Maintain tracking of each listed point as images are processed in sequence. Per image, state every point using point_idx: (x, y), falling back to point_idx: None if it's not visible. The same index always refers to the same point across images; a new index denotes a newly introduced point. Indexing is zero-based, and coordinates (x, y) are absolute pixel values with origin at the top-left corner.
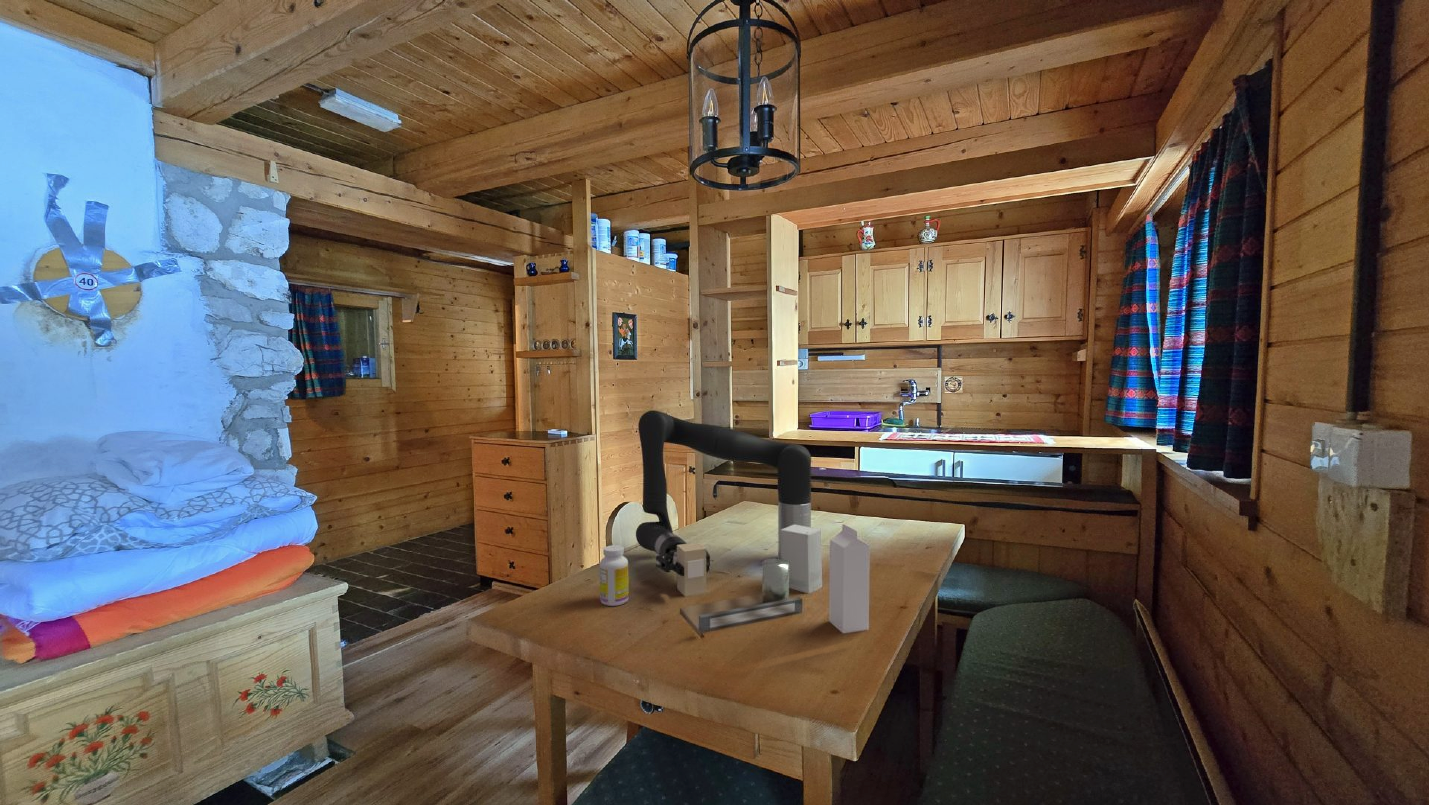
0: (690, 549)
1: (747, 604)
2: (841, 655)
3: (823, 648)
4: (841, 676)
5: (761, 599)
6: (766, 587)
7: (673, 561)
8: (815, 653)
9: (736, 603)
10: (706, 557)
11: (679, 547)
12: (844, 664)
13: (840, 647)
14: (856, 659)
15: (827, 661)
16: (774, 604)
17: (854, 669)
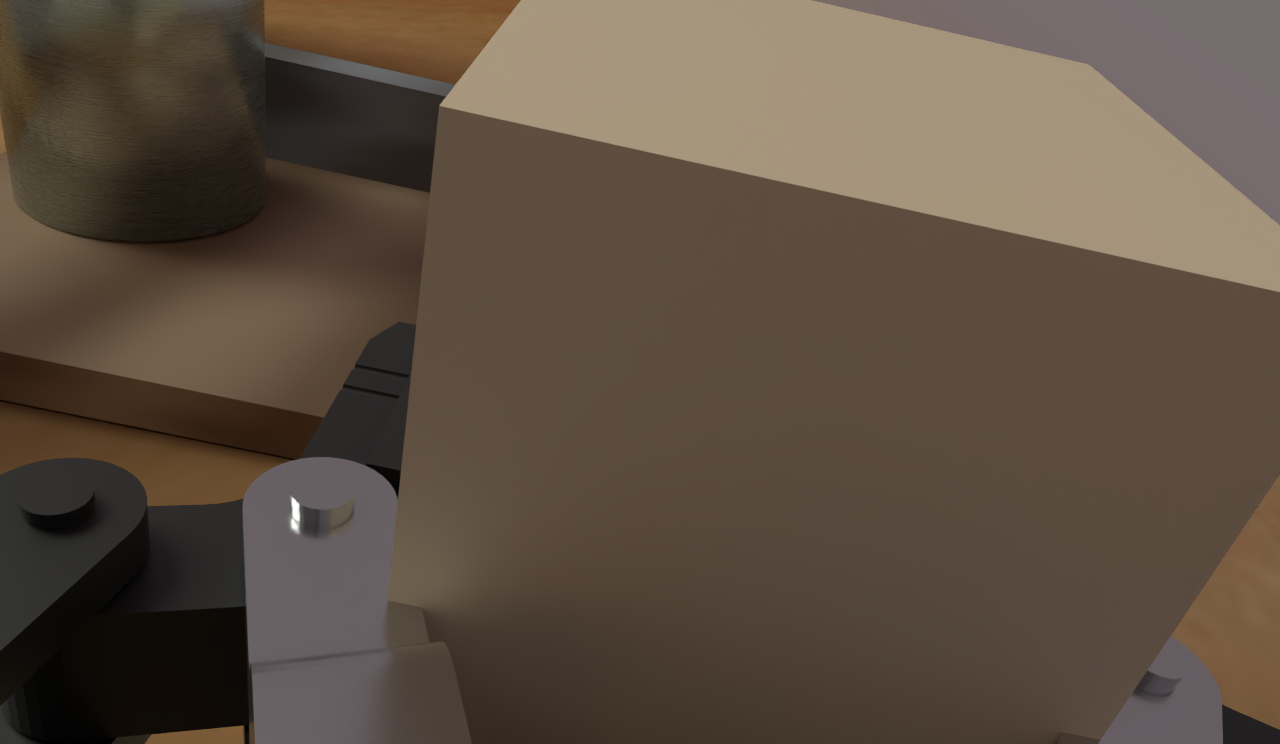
0: (931, 46)
1: (293, 295)
2: (333, 26)
3: (343, 55)
4: (460, 17)
5: (83, 280)
6: (263, 7)
7: (1206, 699)
8: (409, 61)
9: (360, 345)
10: (145, 508)
11: (1235, 194)
12: (384, 18)
13: (274, 32)
14: (314, 7)
15: (420, 40)
16: (322, 57)
17: (384, 6)
